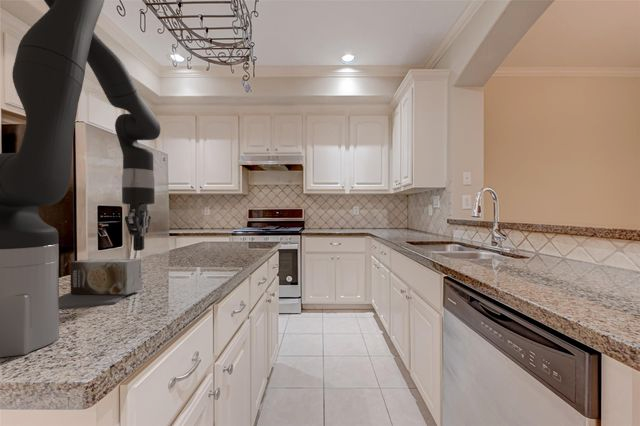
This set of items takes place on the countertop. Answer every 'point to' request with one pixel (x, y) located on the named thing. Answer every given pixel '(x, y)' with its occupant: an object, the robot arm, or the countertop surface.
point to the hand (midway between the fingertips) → (138, 250)
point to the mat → (88, 299)
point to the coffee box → (106, 276)
